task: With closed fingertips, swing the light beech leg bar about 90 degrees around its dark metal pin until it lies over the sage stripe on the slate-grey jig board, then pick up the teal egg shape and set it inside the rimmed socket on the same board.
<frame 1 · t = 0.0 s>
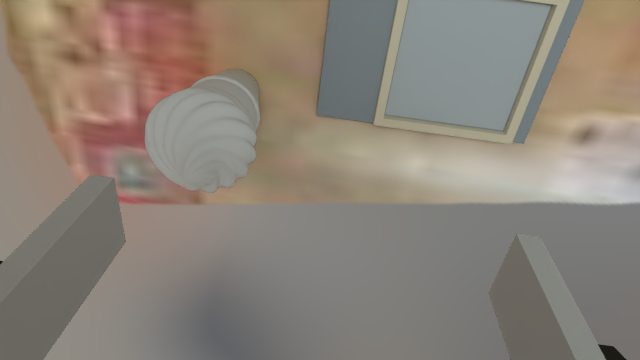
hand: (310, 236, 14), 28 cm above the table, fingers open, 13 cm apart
soft serve ice cream cone: (238, 88, 42), on the table
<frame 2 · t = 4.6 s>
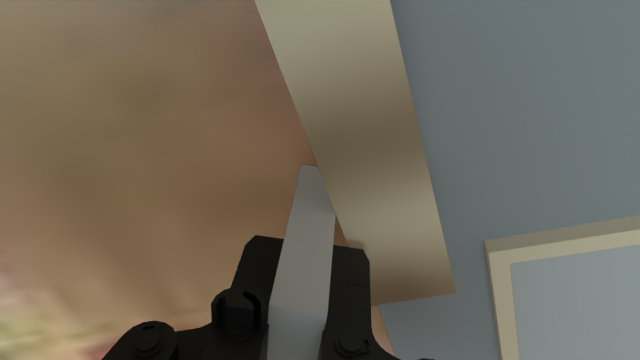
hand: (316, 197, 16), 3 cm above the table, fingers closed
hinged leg: (358, 105, 12), point 4 cm above the table, hinge at 1.2°, touching gripper
jig board: (586, 171, 18), on the table
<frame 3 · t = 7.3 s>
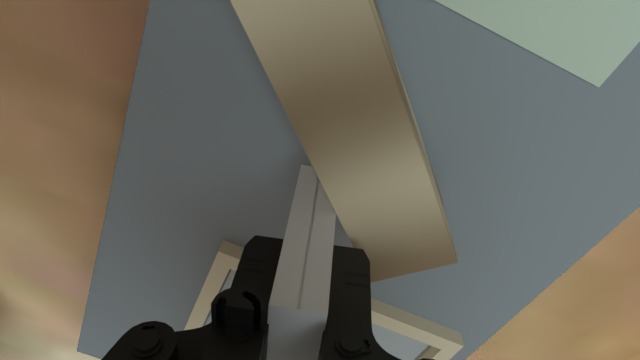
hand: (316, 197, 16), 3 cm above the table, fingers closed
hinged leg: (335, 68, 12), point 4 cm above the table, hinge at 47.7°, touching gripper
jig board: (328, 234, 21), on the table
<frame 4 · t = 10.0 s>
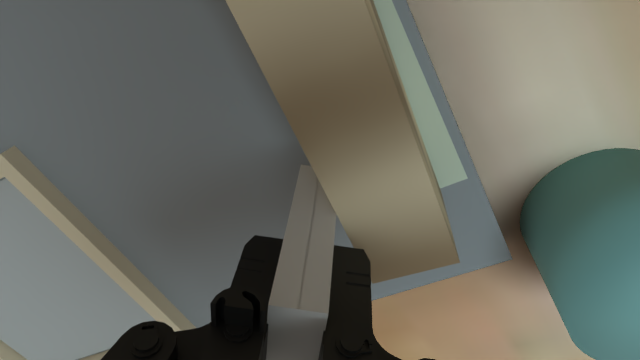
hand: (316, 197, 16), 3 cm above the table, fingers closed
teal egg shape: (596, 211, 19), on the table
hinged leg: (333, 70, 12), point 4 cm above the table, hinge at 85.4°, touching gripper
jig board: (129, 194, 21), on the table
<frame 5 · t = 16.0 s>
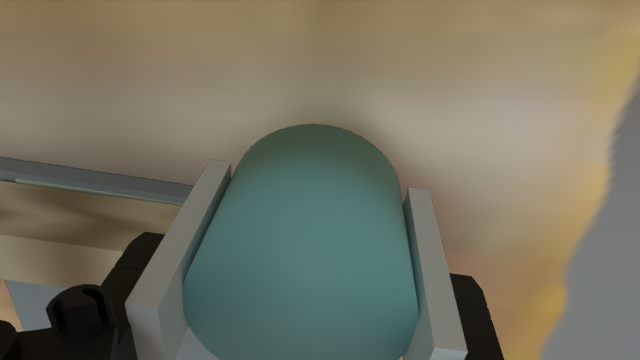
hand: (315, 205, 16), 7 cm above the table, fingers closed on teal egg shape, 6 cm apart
teal egg shape: (315, 201, 16), point 6 cm above the table, touching gripper
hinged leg: (74, 251, 21), point 4 cm above the table, hinge at 90.8°
jig board: (169, 349, 32), on the table
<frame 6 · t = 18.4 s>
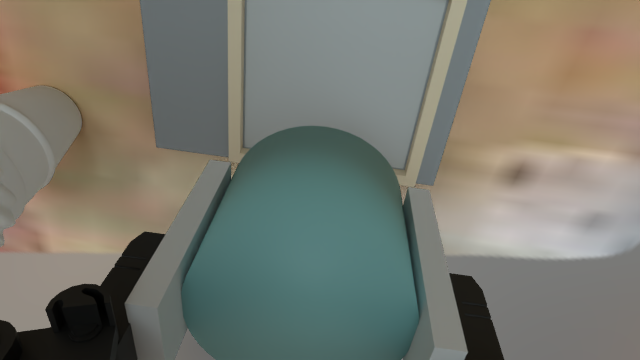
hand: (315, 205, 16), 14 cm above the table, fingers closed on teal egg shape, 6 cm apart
teal egg shape: (315, 202, 16), point 14 cm above the table, touching gripper
soft serve ice cream cone: (55, 111, 31), on the table
when the fingers open (2 cm above the table, at t = 20.9 s): teal egg shape stays where it is, resting on jig board.
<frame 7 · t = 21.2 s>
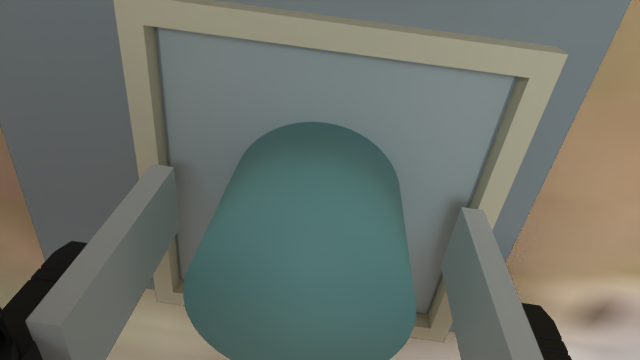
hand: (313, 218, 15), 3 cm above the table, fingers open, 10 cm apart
teal egg shape: (315, 198, 16), point 1 cm above the table, touching jig board
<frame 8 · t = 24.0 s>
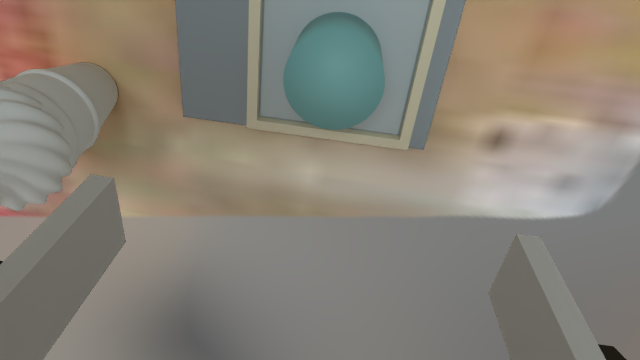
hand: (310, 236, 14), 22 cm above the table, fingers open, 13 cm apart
teal egg shape: (337, 57, 31), point 1 cm above the table, touching jig board
soft serve ice cream cone: (94, 85, 36), on the table
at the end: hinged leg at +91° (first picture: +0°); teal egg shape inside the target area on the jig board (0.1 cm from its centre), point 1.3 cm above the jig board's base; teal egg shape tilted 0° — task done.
